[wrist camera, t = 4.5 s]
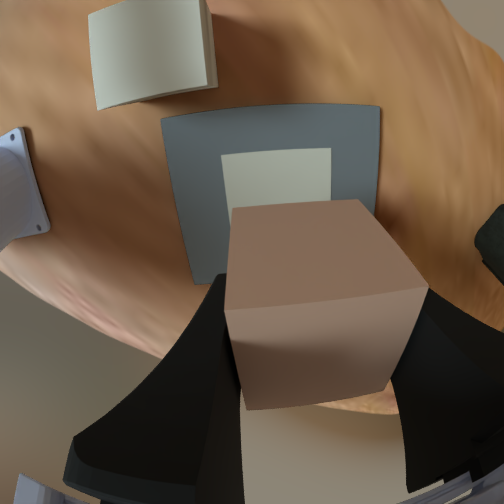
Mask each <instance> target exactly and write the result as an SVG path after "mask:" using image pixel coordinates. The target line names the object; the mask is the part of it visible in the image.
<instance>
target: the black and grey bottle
mask: <svg viewBox="0 0 504 504" xmlns="http://www.w3.org/2000/svg"><path fill="white" fill-rule="evenodd" d="M475 247H476V248H477V249H478V250H479V251H480V253H481V256H482V258H483V260H482V262H483V263H484V264H485V265H486V267H487V268H488V269H489V270H490V271H491V272H492V273H493V274H494V275H495V276H496V278H497V279H498V280H499V281H500V282H501V283H502V284H503V286H504V204H502V205H500V206H499V207H498V208H497V209H496V211H495V212H494V213H493V214H492V215H491V217H490V218H489V219H488V220H487V221H486V223H485V224H484V225H483V226H482V227H481V229H480V230H479V231H478V233H477V235H476V237H475Z"/></svg>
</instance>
